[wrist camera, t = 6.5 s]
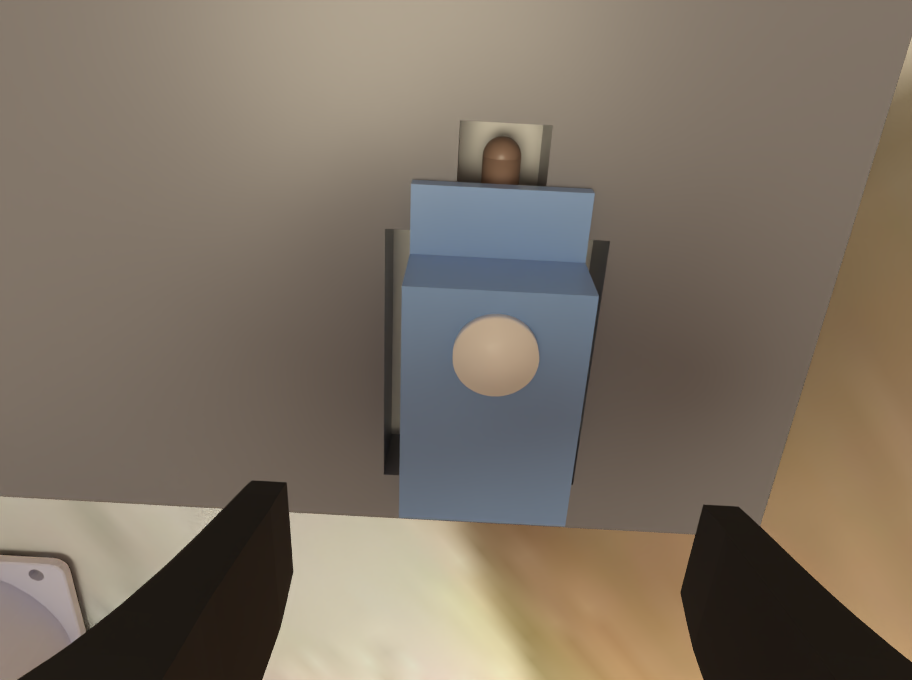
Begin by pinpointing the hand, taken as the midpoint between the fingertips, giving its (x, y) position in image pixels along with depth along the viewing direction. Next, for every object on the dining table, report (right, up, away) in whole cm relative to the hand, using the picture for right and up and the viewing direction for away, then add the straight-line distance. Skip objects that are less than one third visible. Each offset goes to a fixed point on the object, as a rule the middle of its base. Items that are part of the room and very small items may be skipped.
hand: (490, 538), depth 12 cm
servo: (0, +4, +7) cm, 8 cm away
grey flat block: (-3, +7, +7) cm, 10 cm away
